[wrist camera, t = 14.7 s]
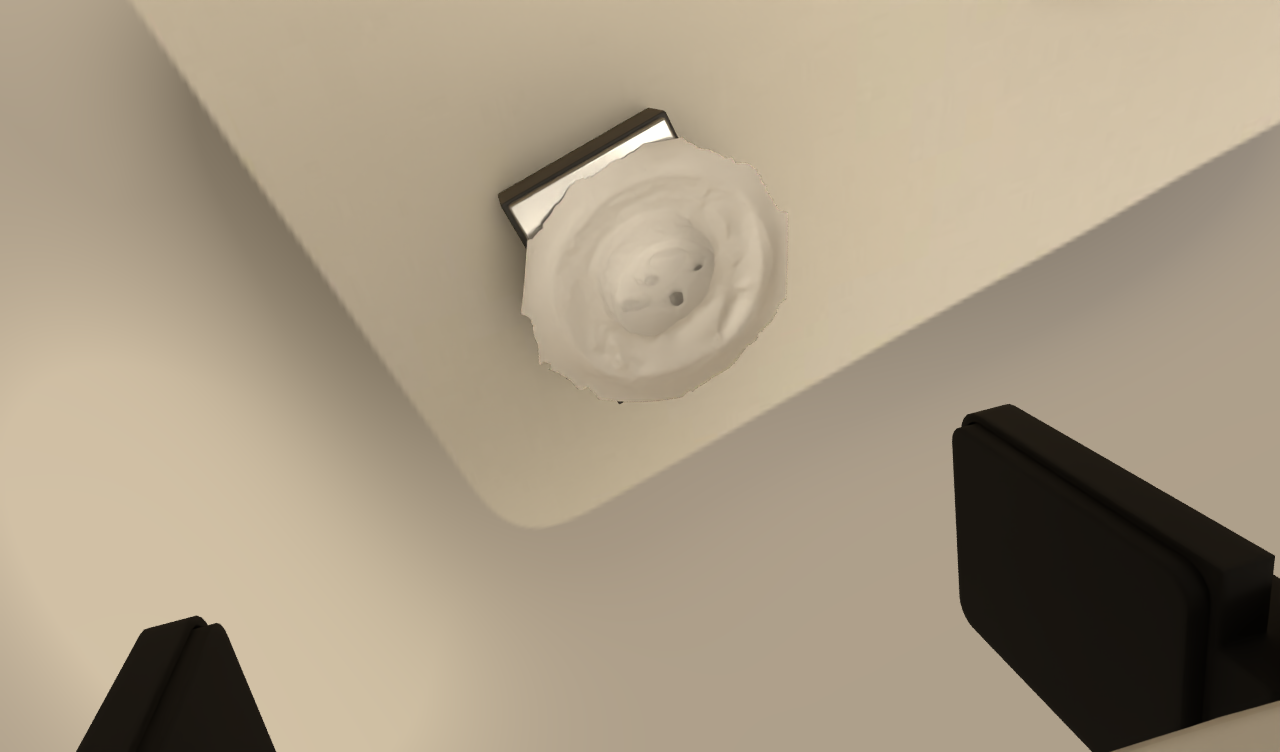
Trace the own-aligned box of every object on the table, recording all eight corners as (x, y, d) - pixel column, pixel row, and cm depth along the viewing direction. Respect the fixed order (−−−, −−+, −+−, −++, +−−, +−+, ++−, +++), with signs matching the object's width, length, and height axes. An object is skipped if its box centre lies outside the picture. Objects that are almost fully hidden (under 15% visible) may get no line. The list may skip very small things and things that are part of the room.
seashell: (610, 274, 32) (556, 457, 27) (545, 162, 28) (469, 350, 24) (827, 241, 29) (807, 443, 24) (785, 109, 25) (752, 317, 20)
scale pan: (745, 287, 30) (751, 291, 29) (604, 368, 30) (607, 374, 29) (661, 116, 27) (665, 117, 27) (507, 204, 27) (508, 207, 27)
